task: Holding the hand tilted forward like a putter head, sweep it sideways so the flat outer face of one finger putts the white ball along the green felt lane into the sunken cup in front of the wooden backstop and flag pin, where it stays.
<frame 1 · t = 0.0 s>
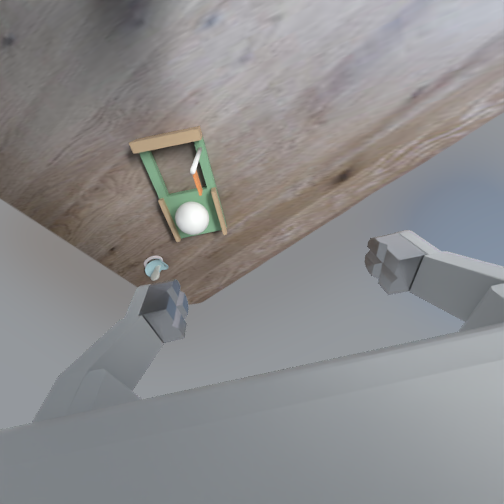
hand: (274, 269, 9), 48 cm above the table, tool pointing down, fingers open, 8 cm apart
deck: (188, 190, 54), on the table
ball: (192, 218, 52), point 6 cm above the table, touching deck
pacifier: (156, 262, 66), on the table
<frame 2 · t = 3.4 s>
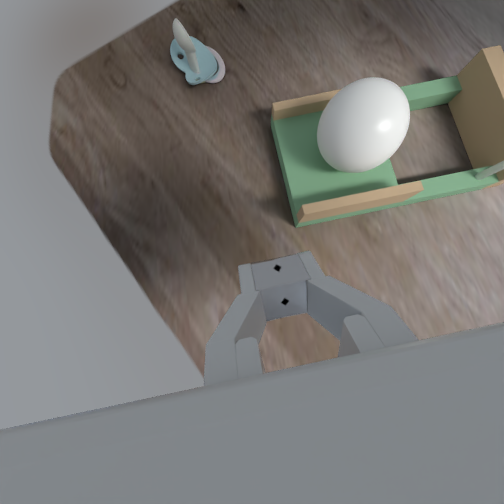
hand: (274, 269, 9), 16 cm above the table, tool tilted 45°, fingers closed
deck: (375, 155, 27), on the table
ball: (359, 129, 21), point 6 cm above the table, touching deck
pacifier: (203, 72, 30), on the table
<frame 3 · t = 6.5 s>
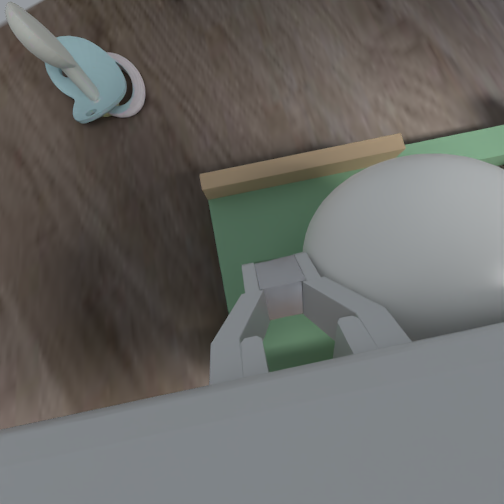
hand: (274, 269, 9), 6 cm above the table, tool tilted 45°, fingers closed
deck: (397, 256, 15), on the table
ball: (399, 257, 9), point 6 cm above the table, tilted 11°, touching gripper
pacifier: (112, 97, 18), on the table
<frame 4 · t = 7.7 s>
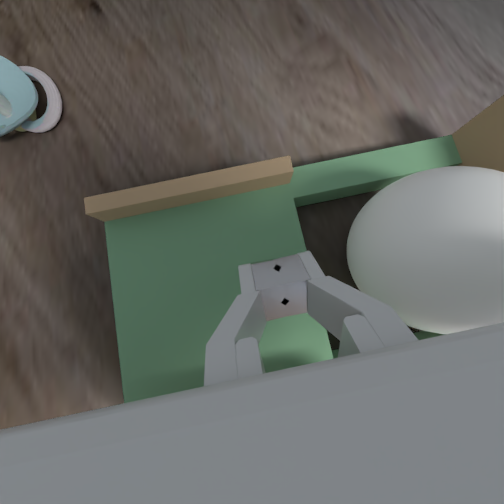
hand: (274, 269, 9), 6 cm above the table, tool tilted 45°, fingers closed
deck: (305, 276, 15), on the table
ball: (432, 250, 11), point 4 cm above the table, tilted 160°
pacifier: (31, 111, 18), on the table
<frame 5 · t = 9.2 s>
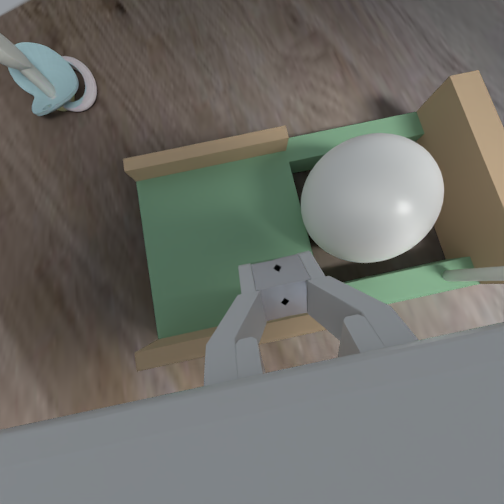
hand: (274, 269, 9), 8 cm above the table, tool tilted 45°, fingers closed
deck: (299, 229, 18), on the table
ball: (362, 202, 14), point 4 cm above the table, tilted 129°
pacifier: (69, 94, 21), on the table
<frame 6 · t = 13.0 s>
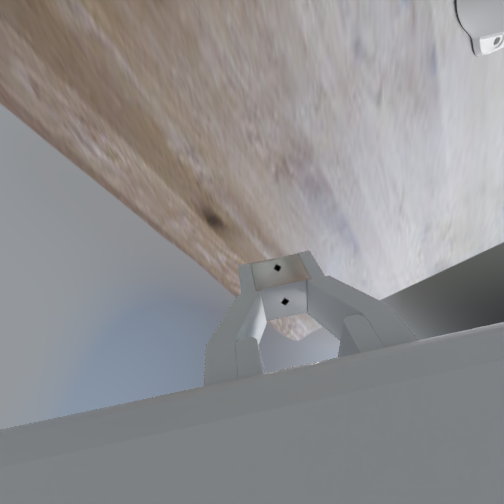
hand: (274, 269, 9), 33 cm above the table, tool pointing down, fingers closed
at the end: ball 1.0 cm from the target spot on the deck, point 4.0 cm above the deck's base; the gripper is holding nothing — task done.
